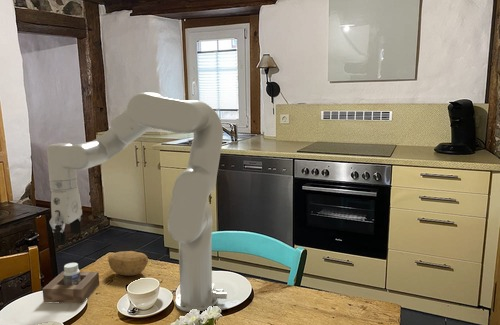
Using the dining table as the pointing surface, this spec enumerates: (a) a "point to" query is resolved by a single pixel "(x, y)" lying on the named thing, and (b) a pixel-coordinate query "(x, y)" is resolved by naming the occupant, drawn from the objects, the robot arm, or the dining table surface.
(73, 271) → the pill bottle
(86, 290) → the socket block
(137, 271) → the potato
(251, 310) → the dining table surface
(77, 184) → the robot arm
